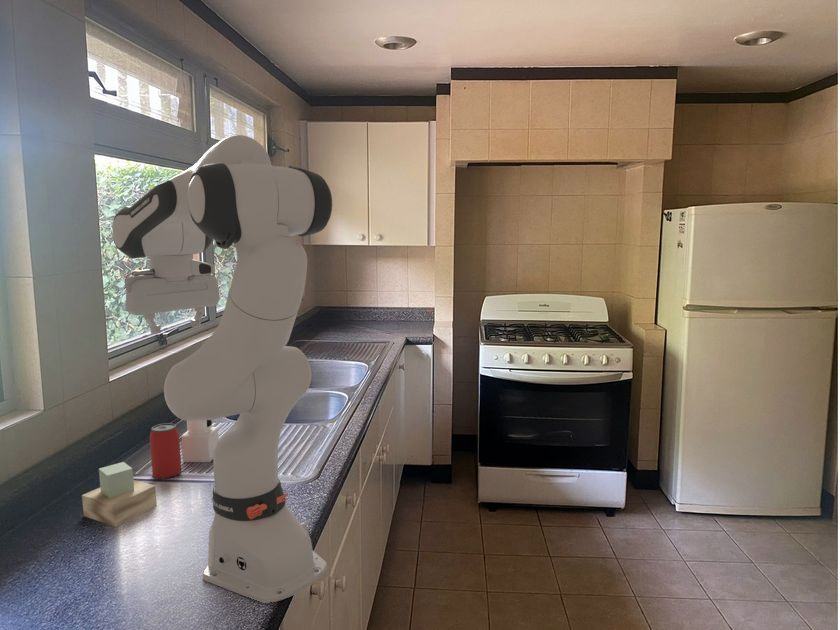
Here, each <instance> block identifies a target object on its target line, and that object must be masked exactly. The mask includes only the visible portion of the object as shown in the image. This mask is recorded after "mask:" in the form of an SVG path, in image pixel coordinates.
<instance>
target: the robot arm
mask: <svg viewBox="0 0 840 630" xmlns="http://www.w3.org/2000/svg"><path fill="white" fill-rule="evenodd" d="M332 211H333V196H332V191H331V189H330V186H329V185H328V183H327V181H326V180H325V179H324V177H322V175H320V174H318V173H316V172H314V171H312V170H311V171H310V170H309V169H304V168H301V167H296V166H293V165H289V166H287V167H286V166H280V165H279V166H277V165H272V161H271V158H270V155H269V153H268V151H267V150H266V148H265V147H264V146H263V145H262V144H261V143H259V141H258V140H256V139H255V138H252V137H250V136H248V135H247V136H246V135H243V134H234V135H230V136H227V137H225V138H223V139H221V140H220V141H218V142H216V143H215V144H214V145H213V146H211V147H210V148H209V149H208V150H207V151H206V152H205V153H204V154H203V155H202V156H201V158H199V160H198V161H197V162H196V163H195V164H193V165H192V166H191V167H189V168H188V169H186V170H185V171H183V172H181V173H179V174H177V175H175V176H173V177H172V178H170V179H167V180H165V181H163V182H161V183H158V184H156V185H155V186H154V187H153V188H151V189H150V190H149V191H147V192H146V193H145V194H144V195H142V197H140V198H139V199H138V200H137V201H136V202H135V203H133V204H132V205H131V206H129V205H127V206H124V207H122V208H121V209H120V210H119V211H118V212H117V213H116V214H115V216H114V217H113V222H112V227H111V228H112V239H113V242H114V245H115V247H116V248H117V249H118V250H119V251H120V252H121V253H122V254H124V255H126V256H127V257H129V258H130V259H140V258H146V257H149V267H150V268H149V269H142V270H139V269H138V270H136V269H135V270H131V272H130V273H127V275H126V276H125V278H124V285H125V289H126V293H125V310H126V312H128V314H129V315H133V316H143V318H144V320H145V321H146V322H147V324H148V326H149V328H150V329H149V330H150V334H152V335H158V334H162V330H161V329H162V327H161V325H160V324H157V323H156V322H155V320H154V319H155V318H156V314H157V313H158V314H159V313H167V312H174V311H181V310H182V311H183V310H190V309H194V312H196V313H195V315H194V316H193V317H194V318H192V319H190V326H191V328H195V329H196V328H197V329H198V328H201V326H202V319H203V316H204V314H205V313H206V308H205V307H214V306H217V305H218V304H219V303H220V288H219V283H218V279H217V277H216V276H215V275H214V274H215V272H216V266H215V265H214V264H211V263H208V262H204V261H200V260H197V259H194V255H198V254H201V253H204V252H205V251H206V250H207V249H208V248H209V247H210V246H211V244H212V243H213V240H214V241H215V244H216V247H218V248H220V249H222V250H228V249H229V248H230V247H231V246H234V247H235V251H236V258H237V259H236V265H235V270H234V274H233V277H232V279H231V283H230V287H229V292H228V296H227V299H226V303H225V306H224V310H223V312H222V316H221V319H220V322H219V324H218V325H217V327H216V328H215V330H214V331H213V333H212V334H211V335H210V336H209V338H207V340H206V341H205V342H204V343H203V344H202V345H201V346H200V347H199V348H198V349H197V350H196V351H194V352H193V353H192V354H190V355H189V356H187V357H186V358H184V359H183V360H181V361H179V362H177V363H176V364H174V365H173V366H171V368H170V369H169V371H168V373H167V375H166V377H165V380H164V385H163V395H164V399H165V402H166V405H167V406H168V409H169V410H170V411H171V412H172V414H173V415H174V416H175V417H177V418H178V419H180V420H182V421H187V420H217V419H223V418H227V417H232V416H235V415H236V416H237V415H239V416H238V417H237V420H236V421H235V423H234V425H232V427H231V428H230V429H228V430H227V431H226V432H225V433H223V435H221V436H220V437H219V440H218V441H217V443H216V445H215V447H214V450H213V459H212V460H213V461H212V463H213V479H214V486H213V488H212V495H211V502H212V508H213V511H214V512H215V513H214V517H213V520H212V523H211V525H210V528H209V531H208V534H209V535H208V551H207V553H208V555H207V557H208V558H207V566H206V567H205V569H204V570H203V572H202V579H203V580H204V582H205V581H206V582H208V583H210V584H213V585H215V586H218V587H221V588H223V589H225V590H228V591H231V592H233V593H236V594H238V595H241V596H243V597H245V596H246V598H248V597H249V599H250V598H251V600H253V599H254V600H253V601H255V600H257V601H256V602H258V601H260V602H259V603H261V602H262V603H261V604H265V603H266V604H271V603H270V602H272V603H276V602H279V601H283V600H285V599H287V598H290V597H292V596H294V595H297V594H299V593H300V592H302V591H304V590H306V589H307V588H308V587H310V586H311V585H313V584H314V583H316V582H317V581H319V580H320V579H321V578H322V577H323V576H324V575H325V573H326V572H327V570H328V564H327V563H328V562H327V561H326V560H324V559H323V558H322V557H321V556H320V555H319V554H317V553H316V552H315V551H314V549H313V543H312V539H311V537H310V535H309V526H308V525H307V523H306V522H305V521H303V522H300V521H299V520H298V519H297V517H296V516H295V515H294V514H293V512H292V510H291V509H290V508H289V507H288V506H287V504H286V503H287V502H286V501H287V500H289V498H287V496H288V495H289V494H288V493H284V488H283V486H282V484H281V480H280V479H279V468H278V467H279V464H278V463H279V460H278V459H279V444H280V436H281V434H282V433H281V432H282V430H283V427H284V425H285V423H286V420H287V418H288V416H289V414H290V412H291V411H292V409H293V408H294V407H295V405H296V404H297V402H298V401H300V399H301V398H302V397H304V395H305V394H306V393H307V392H308V389H309V388H310V384H311V381H312V369H311V367H312V366H311V364H310V362H309V359H308V358H307V356H306V355H305V353H304V352H303V351H302V350H301V349H299V348H298V347H296V346H290V345H289V346H288V342H289V340H290V338H291V335H292V331H293V329H294V325H295V322H296V318H297V315H298V312H299V310H300V306H301V303H302V300H303V295H304V292H305V286H306V281H307V274H308V273H307V272H308V255H307V252H306V250H305V249H304V247H303V245H302V244H301V243H300V242H299V241H298V240H297V239H295V238H294V237H293V236H299V237H307V236H311V235H314V234H317V233H320V232H321V231H323V230H324V229H325V227H327V225H328V223H329V222H330V218H331V216H332Z"/></svg>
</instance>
